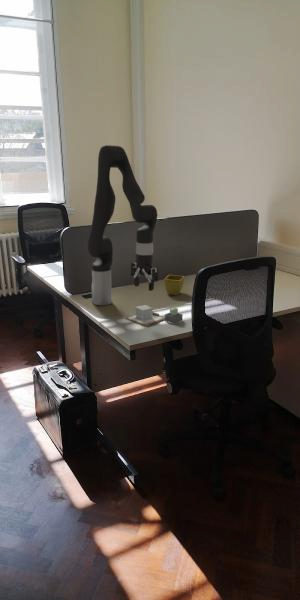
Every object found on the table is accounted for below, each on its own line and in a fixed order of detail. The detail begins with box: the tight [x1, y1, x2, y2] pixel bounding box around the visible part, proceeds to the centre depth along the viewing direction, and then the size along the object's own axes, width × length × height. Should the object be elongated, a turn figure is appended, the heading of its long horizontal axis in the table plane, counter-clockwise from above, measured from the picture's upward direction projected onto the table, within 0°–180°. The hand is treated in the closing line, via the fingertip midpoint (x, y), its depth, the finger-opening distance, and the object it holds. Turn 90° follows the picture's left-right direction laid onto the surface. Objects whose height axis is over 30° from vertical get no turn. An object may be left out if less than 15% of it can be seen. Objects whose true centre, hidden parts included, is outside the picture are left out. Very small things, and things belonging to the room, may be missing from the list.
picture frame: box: [124, 311, 165, 328], centre depth 196 cm, size 14×13×1 cm
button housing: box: [164, 312, 183, 324], centre depth 194 cm, size 6×6×3 cm
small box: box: [135, 304, 154, 320], centre depth 195 cm, size 6×6×5 cm
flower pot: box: [163, 274, 185, 296], centre depth 230 cm, size 9×9×9 cm
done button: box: [169, 307, 179, 317], centre depth 193 cm, size 4×4×4 cm
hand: (143, 288), depth 191 cm, fingers open, 8 cm apart
